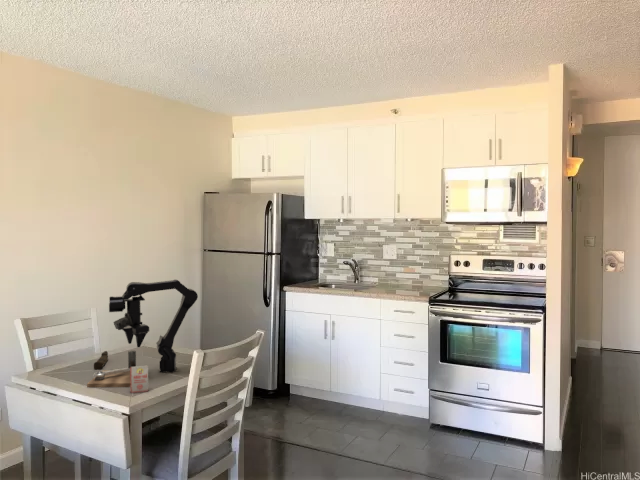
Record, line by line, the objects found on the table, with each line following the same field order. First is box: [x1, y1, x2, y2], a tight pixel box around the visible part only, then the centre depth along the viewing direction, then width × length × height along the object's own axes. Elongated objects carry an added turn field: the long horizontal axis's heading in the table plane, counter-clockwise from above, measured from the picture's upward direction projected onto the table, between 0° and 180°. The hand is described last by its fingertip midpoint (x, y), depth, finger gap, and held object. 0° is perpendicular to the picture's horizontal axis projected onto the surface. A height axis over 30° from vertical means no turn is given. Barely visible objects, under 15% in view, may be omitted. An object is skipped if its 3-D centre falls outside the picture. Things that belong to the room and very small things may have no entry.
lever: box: [92, 350, 137, 378], centre depth 231 cm, size 18×4×8 cm, turn 131°
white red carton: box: [129, 365, 149, 394], centre depth 217 cm, size 4×7×10 cm, turn 108°
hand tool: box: [93, 350, 109, 371], centre depth 255 cm, size 19×4×5 cm, turn 8°
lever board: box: [86, 369, 131, 388], centre depth 231 cm, size 20×19×3 cm
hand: (134, 345), depth 239 cm, fingers open, 9 cm apart
